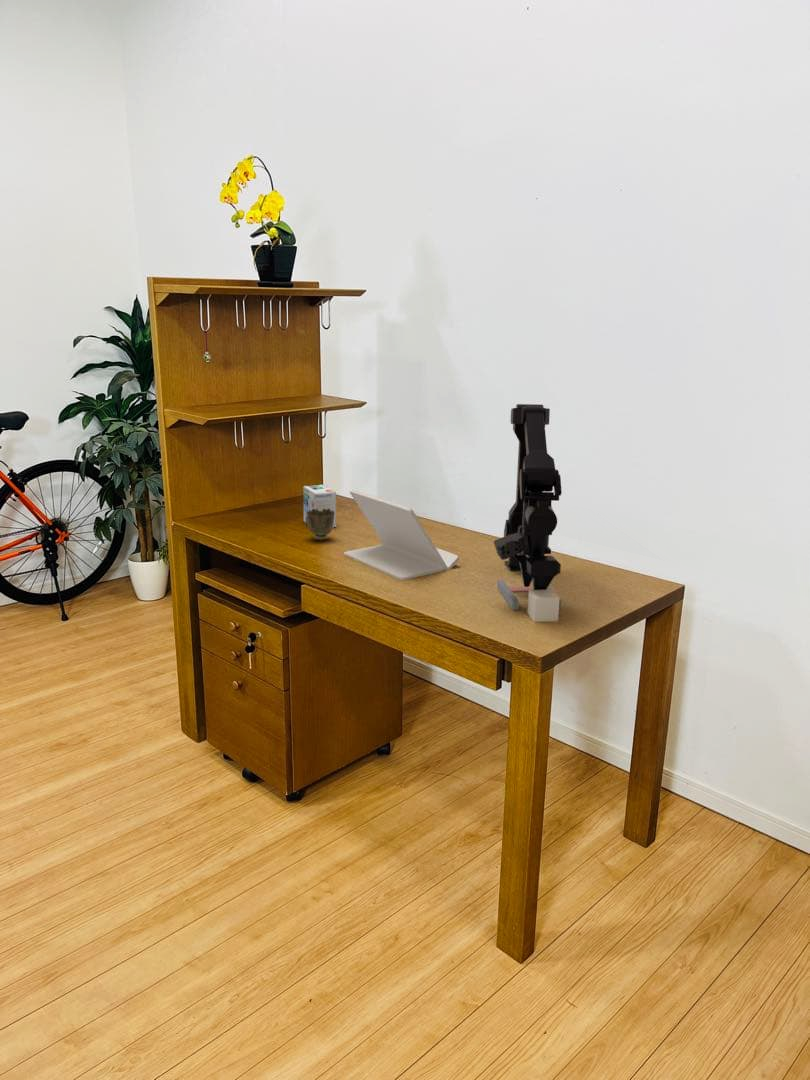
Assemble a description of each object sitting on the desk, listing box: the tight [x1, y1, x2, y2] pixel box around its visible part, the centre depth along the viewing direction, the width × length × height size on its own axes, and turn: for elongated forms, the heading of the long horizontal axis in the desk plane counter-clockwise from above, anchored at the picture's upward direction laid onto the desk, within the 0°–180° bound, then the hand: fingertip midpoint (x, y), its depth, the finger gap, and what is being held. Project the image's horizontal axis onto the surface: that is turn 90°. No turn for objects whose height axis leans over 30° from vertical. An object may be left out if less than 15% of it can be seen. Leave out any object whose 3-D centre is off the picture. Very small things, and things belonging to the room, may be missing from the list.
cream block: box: [527, 589, 561, 623], centre depth 168 cm, size 5×5×5 cm
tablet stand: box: [343, 489, 460, 581], centre depth 202 cm, size 18×25×17 cm
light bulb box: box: [302, 484, 337, 528], centre depth 236 cm, size 11×7×11 cm, turn 25°
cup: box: [307, 509, 335, 542], centre depth 221 cm, size 8×7×8 cm
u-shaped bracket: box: [497, 579, 562, 611], centre depth 179 cm, size 14×10×2 cm
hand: (531, 593), depth 176 cm, fingers open, 8 cm apart
